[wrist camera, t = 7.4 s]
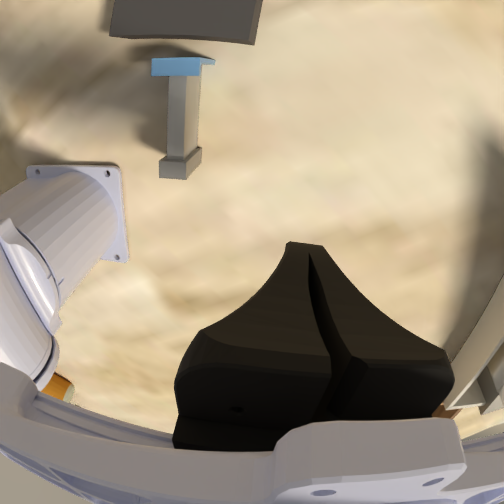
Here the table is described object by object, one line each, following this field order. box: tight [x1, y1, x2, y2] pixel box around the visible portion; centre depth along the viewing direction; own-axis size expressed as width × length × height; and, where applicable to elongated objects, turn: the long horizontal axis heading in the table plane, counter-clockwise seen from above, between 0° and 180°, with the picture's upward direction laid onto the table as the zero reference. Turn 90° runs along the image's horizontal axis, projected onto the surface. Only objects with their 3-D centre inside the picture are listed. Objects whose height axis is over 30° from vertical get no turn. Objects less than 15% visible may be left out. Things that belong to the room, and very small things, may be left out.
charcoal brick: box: [109, 0, 263, 45], centre depth 14 cm, size 8×3×3 cm, turn 81°
